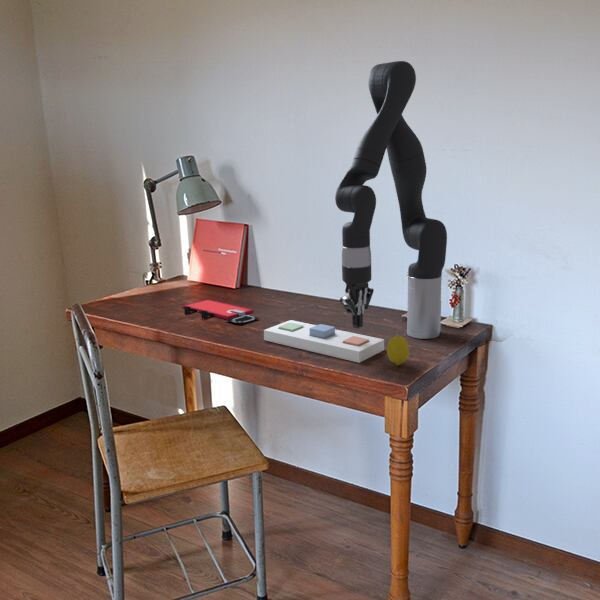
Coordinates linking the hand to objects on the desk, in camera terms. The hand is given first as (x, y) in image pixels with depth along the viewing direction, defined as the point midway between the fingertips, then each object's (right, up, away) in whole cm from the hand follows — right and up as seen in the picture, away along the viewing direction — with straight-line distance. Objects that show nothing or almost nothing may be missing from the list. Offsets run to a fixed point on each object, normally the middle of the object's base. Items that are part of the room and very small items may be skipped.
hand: (357, 327), depth 187 cm
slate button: (-9, -3, +8) cm, 12 cm away
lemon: (+9, -10, -8) cm, 16 cm away
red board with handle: (-41, +2, +41) cm, 58 cm away
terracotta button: (0, -6, +2) cm, 6 cm away
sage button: (-18, -3, +15) cm, 23 cm away
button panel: (-9, -5, +8) cm, 13 cm away
